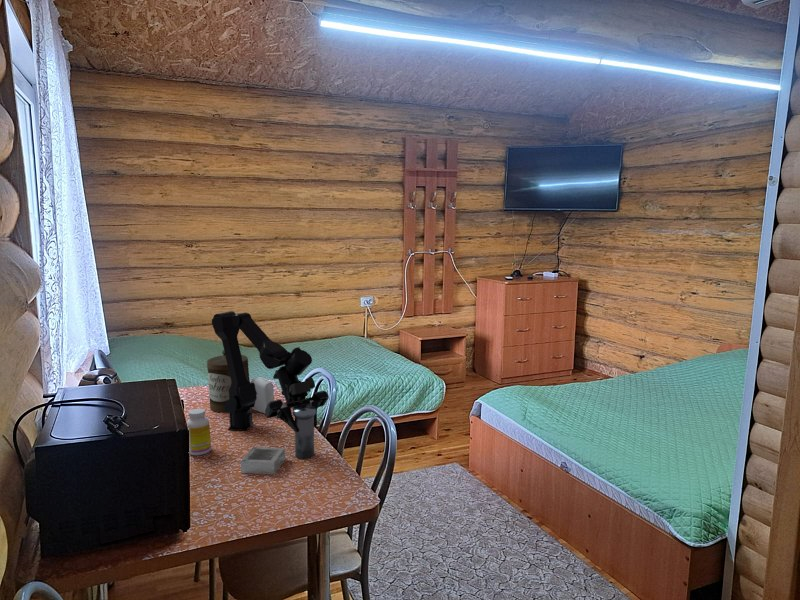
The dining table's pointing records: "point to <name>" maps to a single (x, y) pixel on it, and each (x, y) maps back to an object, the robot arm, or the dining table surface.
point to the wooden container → (221, 381)
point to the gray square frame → (263, 460)
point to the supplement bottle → (199, 432)
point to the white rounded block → (263, 393)
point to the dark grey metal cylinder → (304, 431)
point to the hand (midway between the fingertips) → (306, 429)
